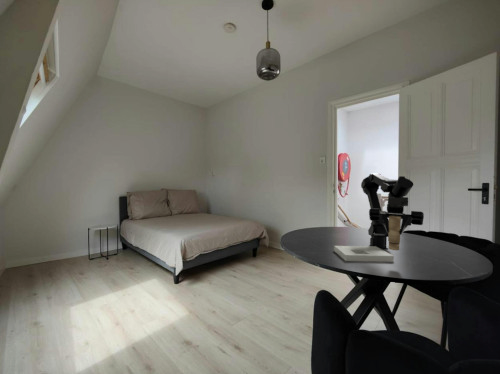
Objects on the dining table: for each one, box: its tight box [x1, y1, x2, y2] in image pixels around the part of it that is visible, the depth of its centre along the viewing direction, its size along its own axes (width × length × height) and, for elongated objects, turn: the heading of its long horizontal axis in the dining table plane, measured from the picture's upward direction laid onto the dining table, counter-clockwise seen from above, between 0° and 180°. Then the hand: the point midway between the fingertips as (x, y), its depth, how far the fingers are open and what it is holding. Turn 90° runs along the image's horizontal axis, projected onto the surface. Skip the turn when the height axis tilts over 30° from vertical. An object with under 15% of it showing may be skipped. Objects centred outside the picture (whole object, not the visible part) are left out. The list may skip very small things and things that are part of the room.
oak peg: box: [387, 216, 402, 251], centre depth 91 cm, size 4×4×13 cm
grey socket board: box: [333, 245, 395, 263], centre depth 104 cm, size 20×14×2 cm
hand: (394, 233), depth 90 cm, fingers closed on oak peg, 4 cm apart
